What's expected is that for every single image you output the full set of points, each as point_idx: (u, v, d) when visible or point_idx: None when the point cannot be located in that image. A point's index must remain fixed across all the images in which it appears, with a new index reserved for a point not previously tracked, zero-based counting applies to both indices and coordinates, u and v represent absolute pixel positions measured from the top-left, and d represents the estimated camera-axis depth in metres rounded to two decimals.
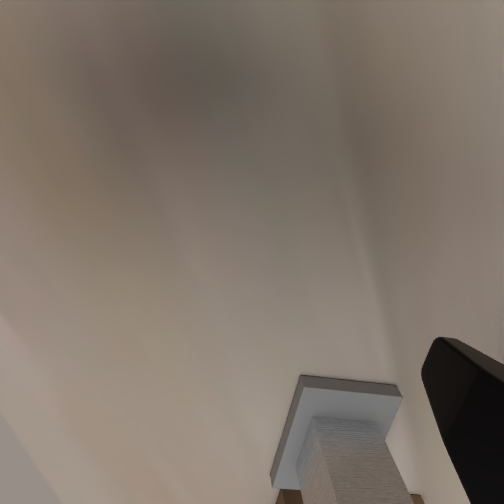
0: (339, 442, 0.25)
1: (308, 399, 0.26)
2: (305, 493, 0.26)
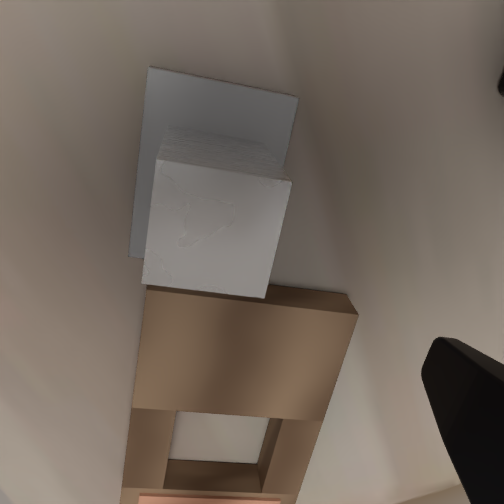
0: (197, 139, 0.17)
1: (158, 92, 0.18)
2: None
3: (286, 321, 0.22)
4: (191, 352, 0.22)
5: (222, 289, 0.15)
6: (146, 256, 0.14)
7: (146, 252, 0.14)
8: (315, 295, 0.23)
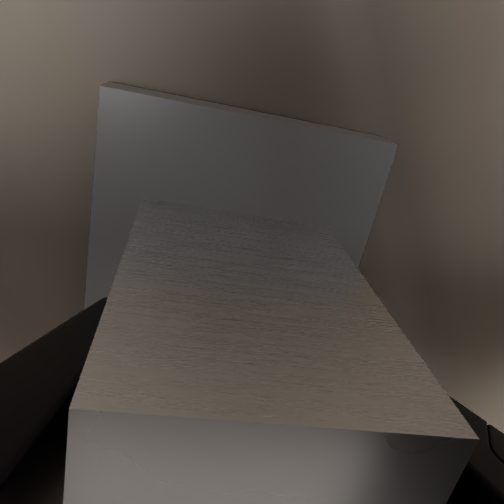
0: (200, 239, 0.08)
1: (122, 135, 0.09)
2: None
3: None
4: None
5: None
6: None
7: None
8: None
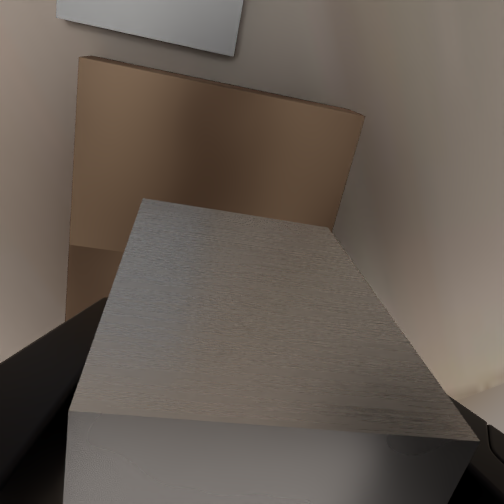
0: (200, 240, 0.08)
1: None
2: None
3: (269, 120, 0.16)
4: (144, 162, 0.17)
5: None
6: None
7: None
8: (308, 101, 0.18)
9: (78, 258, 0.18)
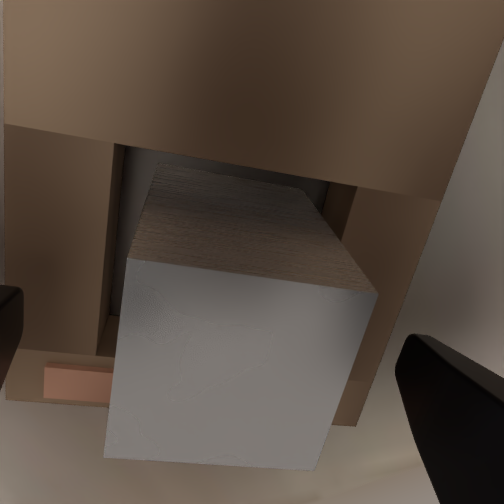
0: (202, 189, 0.11)
1: None
2: None
3: None
4: None
5: (244, 460, 0.09)
6: (111, 416, 0.08)
7: (111, 411, 0.08)
8: None
9: (22, 152, 0.10)
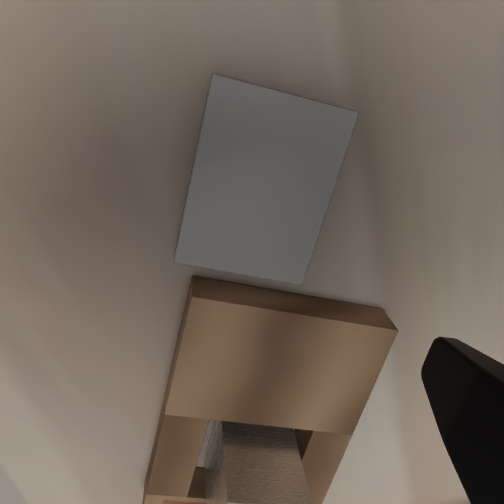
0: (243, 431, 0.24)
1: (220, 100, 0.18)
2: (207, 484, 0.24)
3: (326, 334, 0.22)
4: (230, 361, 0.22)
5: None
6: None
7: None
8: (353, 308, 0.23)
9: (170, 423, 0.23)
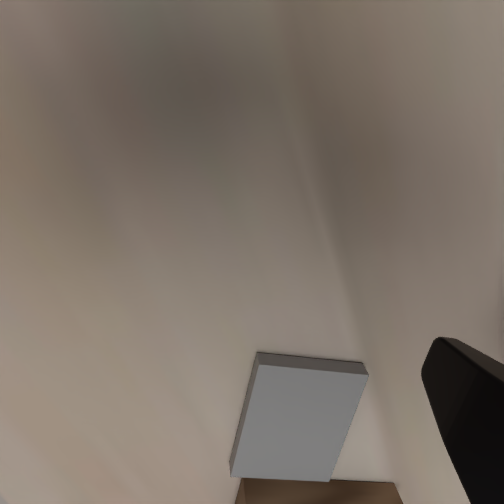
0: None
1: (264, 378, 0.24)
2: None
3: None
4: None
5: None
6: None
7: None
8: (370, 489, 0.29)
9: None
